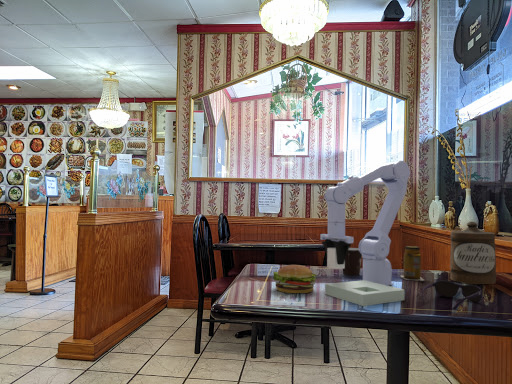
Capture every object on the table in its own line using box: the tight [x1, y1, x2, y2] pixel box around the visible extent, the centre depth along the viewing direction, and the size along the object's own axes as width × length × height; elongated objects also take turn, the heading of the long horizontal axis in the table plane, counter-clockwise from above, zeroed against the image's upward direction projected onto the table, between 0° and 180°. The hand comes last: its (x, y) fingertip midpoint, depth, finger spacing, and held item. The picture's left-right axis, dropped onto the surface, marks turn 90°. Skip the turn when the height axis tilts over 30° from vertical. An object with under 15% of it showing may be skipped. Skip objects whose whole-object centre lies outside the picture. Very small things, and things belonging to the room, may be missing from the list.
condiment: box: [400, 245, 425, 282], centre depth 150 cm, size 7×8×12 cm
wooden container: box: [449, 221, 497, 285], centre depth 147 cm, size 15×15×22 cm
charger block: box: [326, 248, 345, 270], centre depth 131 cm, size 4×4×6 cm
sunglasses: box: [421, 280, 483, 310], centre depth 112 cm, size 14×16×5 cm
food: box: [273, 264, 318, 295], centre depth 126 cm, size 14×14×8 cm
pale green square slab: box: [324, 279, 405, 307], centre depth 117 cm, size 16×16×3 cm
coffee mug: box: [342, 247, 363, 277], centre depth 156 cm, size 12×9×10 cm
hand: (336, 263), depth 131 cm, fingers closed on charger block, 4 cm apart
